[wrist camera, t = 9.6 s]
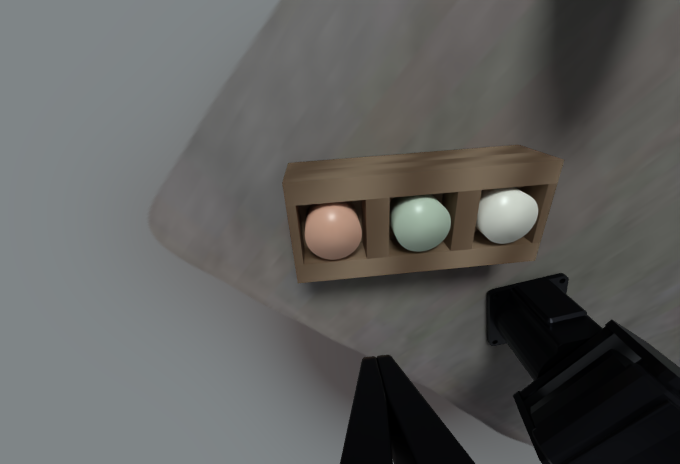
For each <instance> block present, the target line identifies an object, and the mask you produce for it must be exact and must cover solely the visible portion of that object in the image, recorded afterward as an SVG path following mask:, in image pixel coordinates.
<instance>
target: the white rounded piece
mask: <svg viewBox="0 0 680 464" xmlns="http://www.w3.org/2000/svg"><path fill="white" fill-rule="evenodd" d="M537 216H538V206H537V203H536V201H535V200H534V199H533V198H532V197H531V196H529V195H527V194H526V193H524V192H522V191H520V190H518V189H517V188H515V187H509V188H497V189H485V190H482V191H481V197H480V203H479V209H478V215H477V221H476V226H475V227H476V228H477V229H478V230H479V231H480V232H481V233H482V234H484V235H485V236H486V237H487V238H488V239H489V240H490V241H492V242H495V243H499V244H506V243H511V242H514V241H516V240H518V239H520V238H522V237H523V236H524V235H526V234H527V233H528V232H529V231H530V230H531V228H532V227H533V225H534V224H535V222H536V219H537Z"/></svg>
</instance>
